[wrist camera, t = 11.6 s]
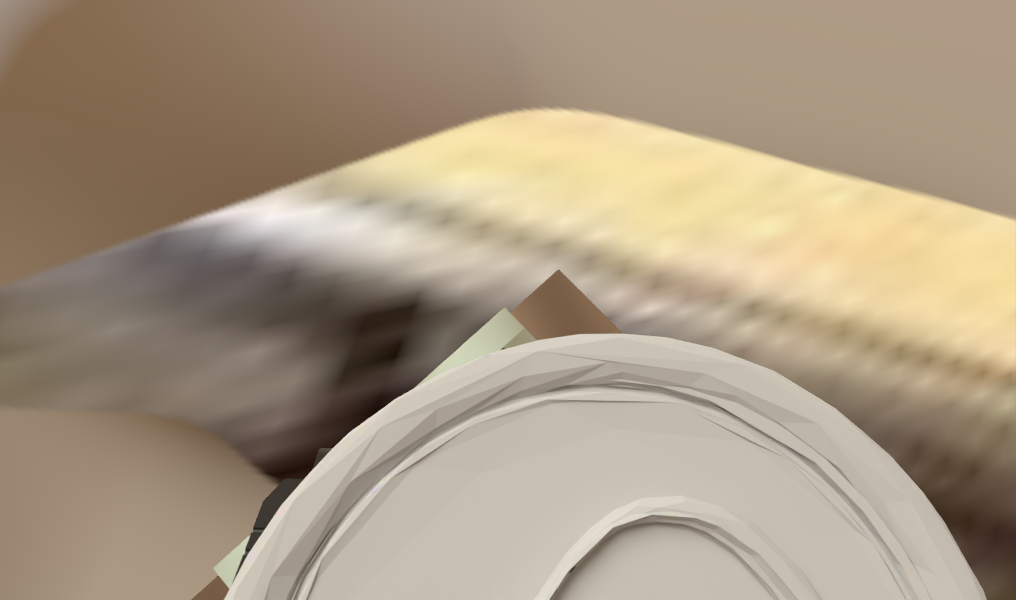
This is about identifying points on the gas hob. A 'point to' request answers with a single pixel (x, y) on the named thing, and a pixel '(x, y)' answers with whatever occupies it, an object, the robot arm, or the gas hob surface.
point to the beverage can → (607, 490)
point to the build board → (536, 318)
